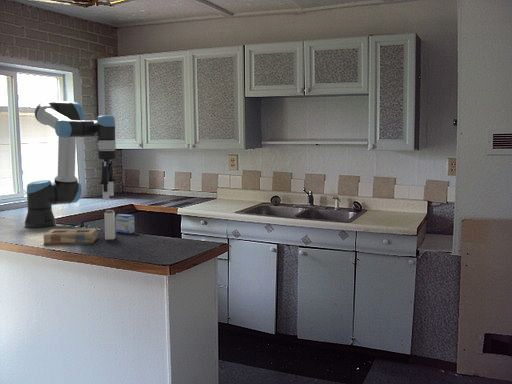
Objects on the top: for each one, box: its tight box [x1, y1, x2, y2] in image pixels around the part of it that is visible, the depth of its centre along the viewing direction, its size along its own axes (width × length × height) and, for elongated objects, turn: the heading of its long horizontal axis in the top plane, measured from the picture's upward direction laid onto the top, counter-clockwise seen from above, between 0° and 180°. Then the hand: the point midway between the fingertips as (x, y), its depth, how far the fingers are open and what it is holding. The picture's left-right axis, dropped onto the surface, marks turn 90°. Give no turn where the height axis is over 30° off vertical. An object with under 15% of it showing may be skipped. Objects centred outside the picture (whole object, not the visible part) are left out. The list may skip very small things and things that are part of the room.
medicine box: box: [115, 213, 135, 234], centre depth 256 cm, size 8×4×9 cm, turn 70°
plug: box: [103, 209, 116, 240], centre depth 241 cm, size 4×4×13 cm
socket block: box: [43, 227, 98, 246], centre depth 234 cm, size 14×20×5 cm
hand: (108, 197), depth 239 cm, fingers open, 13 cm apart
